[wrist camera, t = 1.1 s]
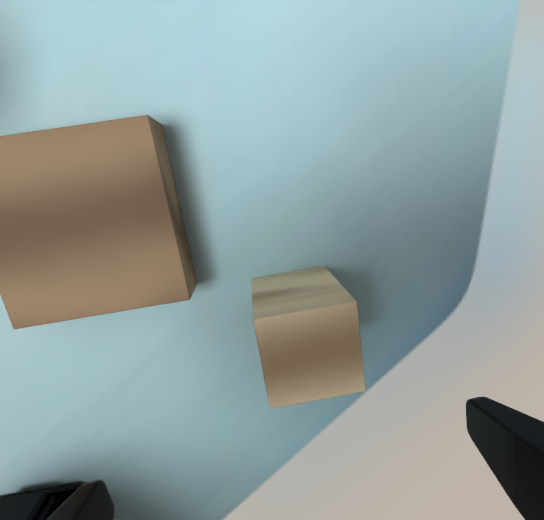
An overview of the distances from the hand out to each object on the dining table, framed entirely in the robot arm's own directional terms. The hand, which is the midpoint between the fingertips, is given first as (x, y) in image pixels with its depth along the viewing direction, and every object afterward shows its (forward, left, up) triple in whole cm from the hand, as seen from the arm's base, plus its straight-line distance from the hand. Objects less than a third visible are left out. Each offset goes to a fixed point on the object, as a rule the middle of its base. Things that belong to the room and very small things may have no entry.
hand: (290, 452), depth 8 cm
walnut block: (+5, +8, -13) cm, 16 cm away
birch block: (-2, -2, -12) cm, 12 cm away
